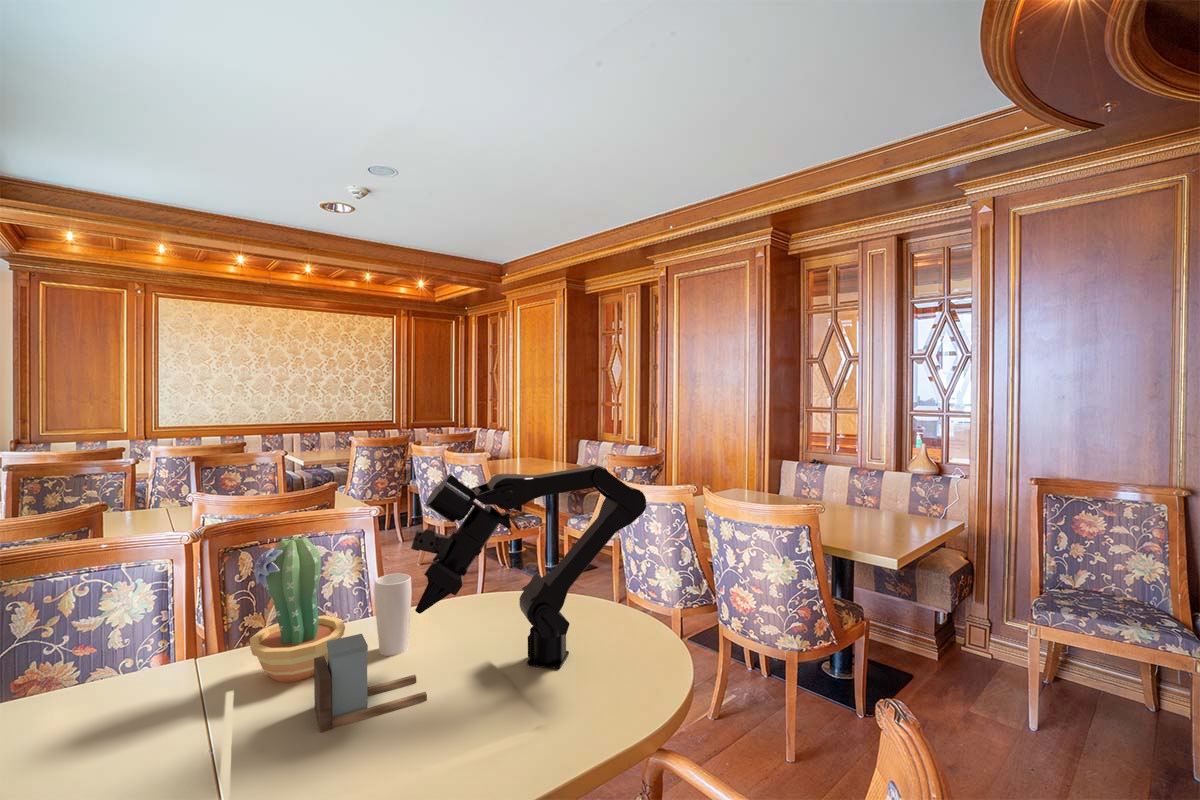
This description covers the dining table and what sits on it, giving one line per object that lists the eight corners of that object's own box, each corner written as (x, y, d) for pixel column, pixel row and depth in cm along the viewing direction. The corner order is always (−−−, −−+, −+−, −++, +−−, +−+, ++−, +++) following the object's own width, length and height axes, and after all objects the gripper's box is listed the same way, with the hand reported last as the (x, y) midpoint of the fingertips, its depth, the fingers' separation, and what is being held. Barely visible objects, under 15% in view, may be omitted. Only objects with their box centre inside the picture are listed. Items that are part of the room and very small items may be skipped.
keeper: (362, 697, 92) (361, 633, 92) (368, 713, 87) (367, 645, 87) (327, 707, 89) (326, 641, 89) (331, 723, 85) (330, 653, 84)
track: (414, 686, 98) (414, 635, 97) (427, 708, 91) (426, 652, 91) (311, 715, 89) (311, 658, 89) (317, 741, 82) (316, 680, 82)
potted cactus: (261, 663, 106) (260, 531, 106) (350, 651, 111) (349, 525, 111) (236, 706, 92) (234, 554, 91) (340, 690, 96) (338, 545, 96)
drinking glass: (400, 665, 105) (399, 585, 105) (367, 662, 107) (366, 583, 106) (418, 649, 112) (418, 574, 112) (388, 646, 113) (387, 572, 113)
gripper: (439, 507, 110) (387, 576, 106) (430, 514, 92) (368, 597, 88) (485, 539, 111) (436, 609, 107) (486, 552, 93) (426, 636, 89)
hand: (417, 611), depth 98 cm, fingers closed
